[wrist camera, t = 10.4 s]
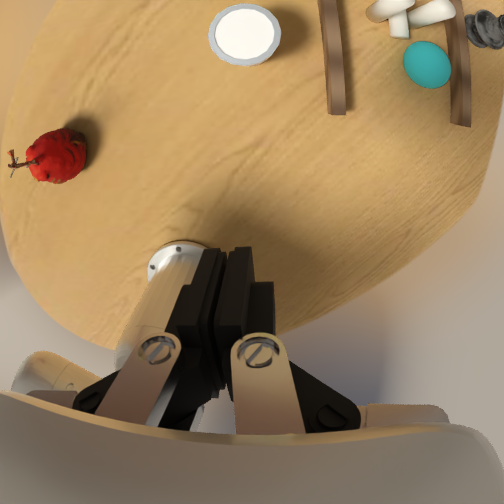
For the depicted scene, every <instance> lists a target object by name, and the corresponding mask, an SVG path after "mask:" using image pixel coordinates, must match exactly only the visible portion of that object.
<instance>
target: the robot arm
mask: <svg viewBox="0 0 504 504" xmlns="http://www.w3.org/2000/svg"><path fill="white" fill-rule="evenodd" d="M147 277H148V282H149V284H148V286H147V288H146V289H145V291H144V293H143V295H142V297H141V299H140V301H139V302H138V304H137V306H136V308H135V310H134V312H133V314H132V316H131V318H130V320H129V322H128V323H127V325H126V327H125V329H124V331H123V333H122V335H121V337H120V339H119V341H118V344H117V346H116V350H115V356H114V364H115V370H116V372H114V373H112V374H111V375H109V376H107V377H105V378H103V379H102V378H100V377H98V376H96V375H94V374H92V373H91V372H89V371H87V370H85V369H83V368H81V367H80V366H78V365H76V364H74V363H72V362H70V361H68V360H67V359H65V358H63V357H61V356H59V355H57V354H55V353H52V352H48V351H38V352H35V353H33V354H31V355H30V356H28V357H27V358H26V359H25V360H24V361H23V363H22V364H21V366H20V367H19V369H18V371H17V373H16V376H15V379H14V381H13V384H12V388H11V391H7V390H0V504H504V470H503V467H502V464H501V462H500V460H499V458H498V455H497V453H496V451H495V449H494V448H493V446H492V444H491V443H490V442H489V440H488V439H487V438H486V437H485V436H484V435H483V434H482V433H480V432H479V431H477V430H475V429H472V428H469V427H466V426H462V425H457V424H451V423H449V419H448V416H447V414H446V413H445V412H444V410H443V409H441V408H439V407H438V406H434V405H399V404H398V405H397V404H395V405H394V404H373V403H368V405H367V406H356V405H355V404H354V403H353V402H352V401H351V400H349V399H347V398H346V397H344V396H342V395H341V394H339V393H338V392H336V391H335V390H333V389H332V388H330V387H329V386H327V385H325V384H324V383H322V382H321V381H319V380H318V379H316V378H315V377H313V376H312V375H310V374H308V373H307V372H306V371H304V370H303V369H301V368H300V367H298V366H297V365H295V364H293V363H292V362H291V361H289V360H288V356H287V352H286V348H285V346H284V344H283V342H282V341H281V340H280V339H279V338H278V337H276V336H275V299H274V283H273V282H255V277H254V268H253V258H252V249H251V246H250V247H235V251H230V252H229V256H228V260H227V255H226V252H221V250H220V248H212V249H208V248H206V247H205V246H203V245H200V244H197V243H194V242H188V241H176V242H171V243H168V244H166V245H163V246H162V247H160V248H159V249H158V250H157V251H156V252H155V253H154V254H153V256H152V258H151V259H150V261H149V264H148V268H147ZM226 384H227V388H228V391H229V395H230V398H231V401H233V402H234V414H235V428H236V435H234V434H215V433H201V432H197V429H198V426H199V423H200V421H201V418H202V415H203V413H204V404H205V403H206V402H208V401H209V400H211V398H218V397H219V391H220V389H221V390H223V389H225V386H226Z"/></svg>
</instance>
